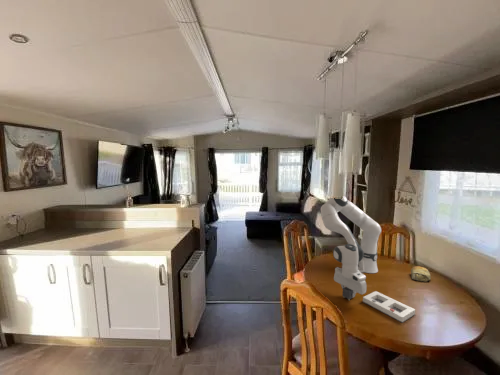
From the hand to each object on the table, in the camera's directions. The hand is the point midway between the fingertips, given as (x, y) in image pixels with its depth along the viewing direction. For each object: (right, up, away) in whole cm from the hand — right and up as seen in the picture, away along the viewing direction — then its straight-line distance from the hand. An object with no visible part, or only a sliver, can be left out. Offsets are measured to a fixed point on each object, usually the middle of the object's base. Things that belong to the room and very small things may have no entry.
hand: (348, 294), depth 146 cm
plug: (0, -2, 0) cm, 2 cm away
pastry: (+61, 0, +26) cm, 67 cm away
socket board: (+18, -3, -10) cm, 21 cm away
